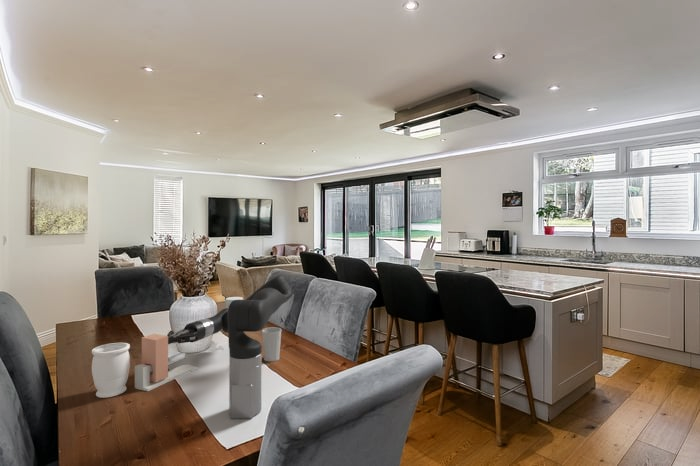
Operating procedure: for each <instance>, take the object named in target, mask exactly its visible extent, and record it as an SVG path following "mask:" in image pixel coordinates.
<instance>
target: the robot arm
mask: <svg viewBox="0 0 700 466" xmlns="http://www.w3.org/2000/svg"><path fill="white" fill-rule="evenodd" d="M292 297H293V290H292V288H291V287H290V285H289V283H288V282H287V280H286V278H285V277H284V276H283V275H282V274H281V275H280V274H279V275H276V276H274V277H273V278H271V279H269V280H268V281H266V282H265V283H264V284H263V285H261V286H260V287H259V288H258V289H256V290H255V291H254V292H253V293H251V294H250V295H249V296H248V297H247V298H245V299H243V300H233V301H232V302H231V303H230V305H229V308H223V309H221V310H219V311H218V312H217V313H216V314H215V315H213V316H210V317H207V318H203V319H199V320H196V321H192V322H189V323H187V324H186V325H185V326H184V328H182V329H179V330H177V331H176V332H175V331H174V330H169V332H168V333H166V334H167V335H166V336H168V345H171V344H176V343H177V344H185V343H195V342H198V341H202V340H203V339H206V338H208V337H210V336H213V335H215V334H218V333H220V332H221V331H222V332H223V333H227V335H228V349H229V350H228V351H229V353H228V354H229V355H228V356H229V358H228V359H229V365H228V366H229V368H228V369H229V370H228V371H229V379H228V380H229V384H228V385H229V386H228V389H229V393H228V395H229V396H228V399H229V400H228V403H229V405H228V406H229V407H228V408H229V411H228V413H229V415H230V419H253V418H254V417H255V416H257V415H258V414H260V413H261V411H262V362H263V361H262V358H263V357H262V354H263V353H262V349H263V348H262V346H263V345H262V343H261V342H260V341H259V340H256V339H254V338H252V337H250V336H248V335H247V334H246V333H247V332H249V333H250V332H252V333H253V332H254V333H255V332H259V331H262V330H263V329H265V328H264V327H266V324H267V323H268V321H269V319H270V318H271V317H272V316H273V315H274V314H275V313H276V312H277V311H278V310H279V309H280V307H281V306H282V305H283V304H285V303H287V302H288V301H289V300H290V299H291V298H292ZM245 332H246V333H245Z"/></svg>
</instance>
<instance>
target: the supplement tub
mask: <svg viewBox="0 0 700 466" xmlns="http://www.w3.org/2000/svg"><path fill="white" fill-rule="evenodd" d="M233 300H244V297H242V296H230V297H226V298H225V300H224V307H225V308H229V305H230V303H231V302H232V301H233ZM225 308H224V309H225Z"/></svg>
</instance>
